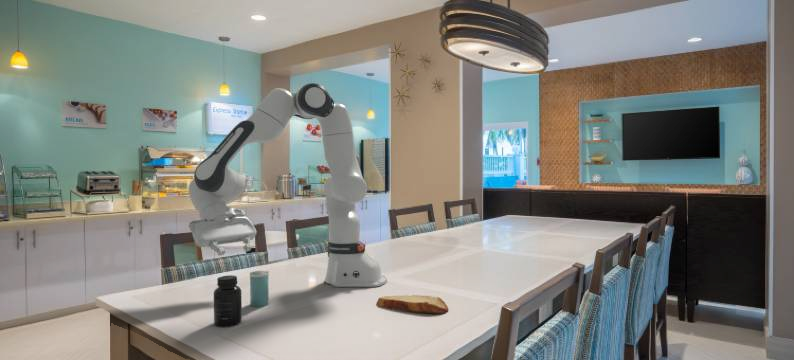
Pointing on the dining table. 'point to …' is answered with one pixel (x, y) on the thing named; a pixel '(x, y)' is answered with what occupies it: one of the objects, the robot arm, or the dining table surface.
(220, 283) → the supplement bottle
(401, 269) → the dining table surface
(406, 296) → the slice of bread
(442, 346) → the dining table surface
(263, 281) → the cup
